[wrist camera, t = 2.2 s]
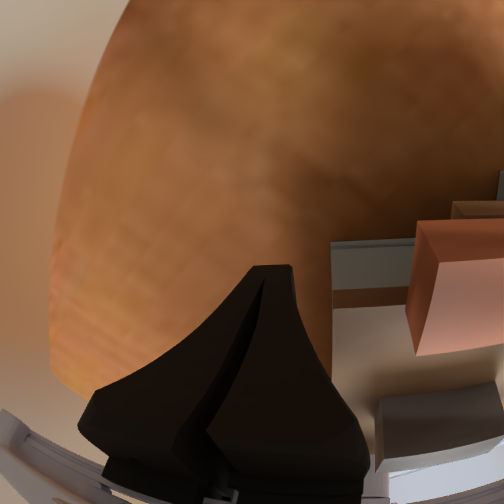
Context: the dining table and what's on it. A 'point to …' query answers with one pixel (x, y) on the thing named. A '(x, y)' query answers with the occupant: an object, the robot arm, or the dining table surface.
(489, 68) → the dining table surface
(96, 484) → the robot arm
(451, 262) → the salmon pink block
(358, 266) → the blue grey tray
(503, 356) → the lid
